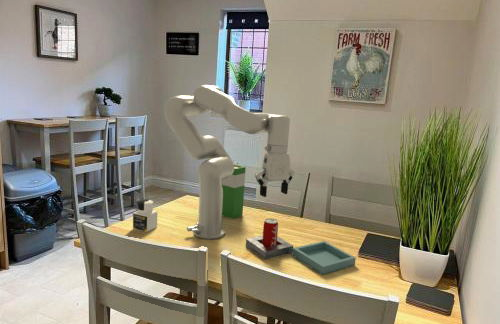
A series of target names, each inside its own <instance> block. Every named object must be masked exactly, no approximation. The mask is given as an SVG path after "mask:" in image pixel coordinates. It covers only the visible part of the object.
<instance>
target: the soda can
mask: <svg viewBox="0 0 500 324" xmlns="http://www.w3.org/2000/svg"><path fill="white" fill-rule="evenodd" d="M262 228H263V231H262V236H263V240H262V245H264V246H265V247H267V248H268V247H273V246H276V245H277V236H278V231H279V223H278V220H277V219H275V218H271V217H270V218H265V219H264V222H263V227H262Z"/></svg>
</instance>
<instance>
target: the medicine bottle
mask: <svg viewBox="0 0 500 324" xmlns="http://www.w3.org/2000/svg"><path fill="white" fill-rule="evenodd" d="M156 228H158V211H157V210H154V201H153V200H151V199H146V198H145V199H144V198H143V199H141V200H139V201H138V202H137V211H134V212H132V230H135V229H136V230H135V231H139V232H143V231H144V232H145V233H148V232H150V231H152V230H154V229H156Z"/></svg>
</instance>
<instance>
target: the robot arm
mask: <svg viewBox="0 0 500 324" xmlns="http://www.w3.org/2000/svg"><path fill="white" fill-rule="evenodd" d="M236 103H237V102H236V99H235V97H233V96H230V95H228V94H226V93H225V92H224V91H223V89H222V88H220V86H217V85H209V84H204V85H203V84H202V85H199V86H198V87H196V88H195V89H194V91H193V93H192V95H175V96H172V97H170V98H168V99H167V101H166V102H165V105H164V118H165V121H166V123H167V125H168V126H169V128H170V129H171V131H172V132H173V133H174V134H175V136H176V138H177V139H178V140H179V142H180V143H181V145H182V146H183V148H184V149H185V151H186V152H187V154H188V155H189V157H190V159H192V160H195V161H202V162H201V163H200V164H199V166H198V170H197V177H198V183H199V197H198V200H199V201H198V219H197V220H198V221H197V222H195V224H194V225H192V226H191V225H190V226H187V227H186V231H187V232H192V233H193V234H194V235H195V236H196V237H198V238H200V239H202V240H217V239H221V238H223V237H224V235H225V232H226V231H225V229H224V228H222V221H223V220H222V219H223V216H222V204H223V188H222V184H221V180H222V179H225V178H228V177H229V176H231V175H232V174H233V172H234V165H235V164H234V161H233V160H232V158H231V156H230V154H229V153H228V152H227V150H226V149H225V148H224V146H223V145H222V143H221V141H219V139H217V138H216V137H215V136H213V135H202V134H201V133H200V131H199V130H198V129H197V127H196V125H195V124H194V123H193V122H192V121H191V120H189V119H188V118H187V117H196V116H200V115H203V114H204V113H207V112H212V113H213V114H215V115H217V116H219V117H221V118H223V119H224V121H226V122H227V123H228V124H229V125H230V126H232V127H233V128H236V129H237V130H238V131H242V132H244V133H245V134H249V135H258V134H265V133H267V143H266V144H267V145H265V147H264V151H266V152H265V154H264V155H263V161H262V166H261V167H262V168H261V169H260V170H259V171H257V172H256V173H254V177H255V180H256V182H257V183H258V185H259V195H260V196H261V197H263V198H266V197H267V192H268V191H267V190H268V187H267V184H268V183H269V182H279V181H282V182H281V187H280V193H281V194H284V195H288V191H289V185H290V184H291V181H292V179H293V177H294V175H295V170H292V169H291V159H290V153H289V152H288V150H289V149H288V147H289V138H290V137H289V136H290V124H291V117H290V116H288V115H285V114H284V115H283V114H271V113H268V112H267V113H266V112H251V111H249V110H247V109H244V108H243V107H241V106H239V105H238V104H236ZM203 160H204V161H203Z"/></svg>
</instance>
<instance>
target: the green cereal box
mask: <svg viewBox="0 0 500 324" xmlns="http://www.w3.org/2000/svg"><path fill="white" fill-rule="evenodd" d="M245 179H246V166H243V165H239V164H234V172H233V174H232V175H231V176H229V177H228V178H225V179H222V180H221V184H222V188H223V204H222V217H226V218H227V219H228V218H229V219H232V220H234V219H236V218H239V217H241V216H243V212H244V211H243V210H244V199H245V198H244V196H245V184H246V183H245V182H246V181H245Z"/></svg>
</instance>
